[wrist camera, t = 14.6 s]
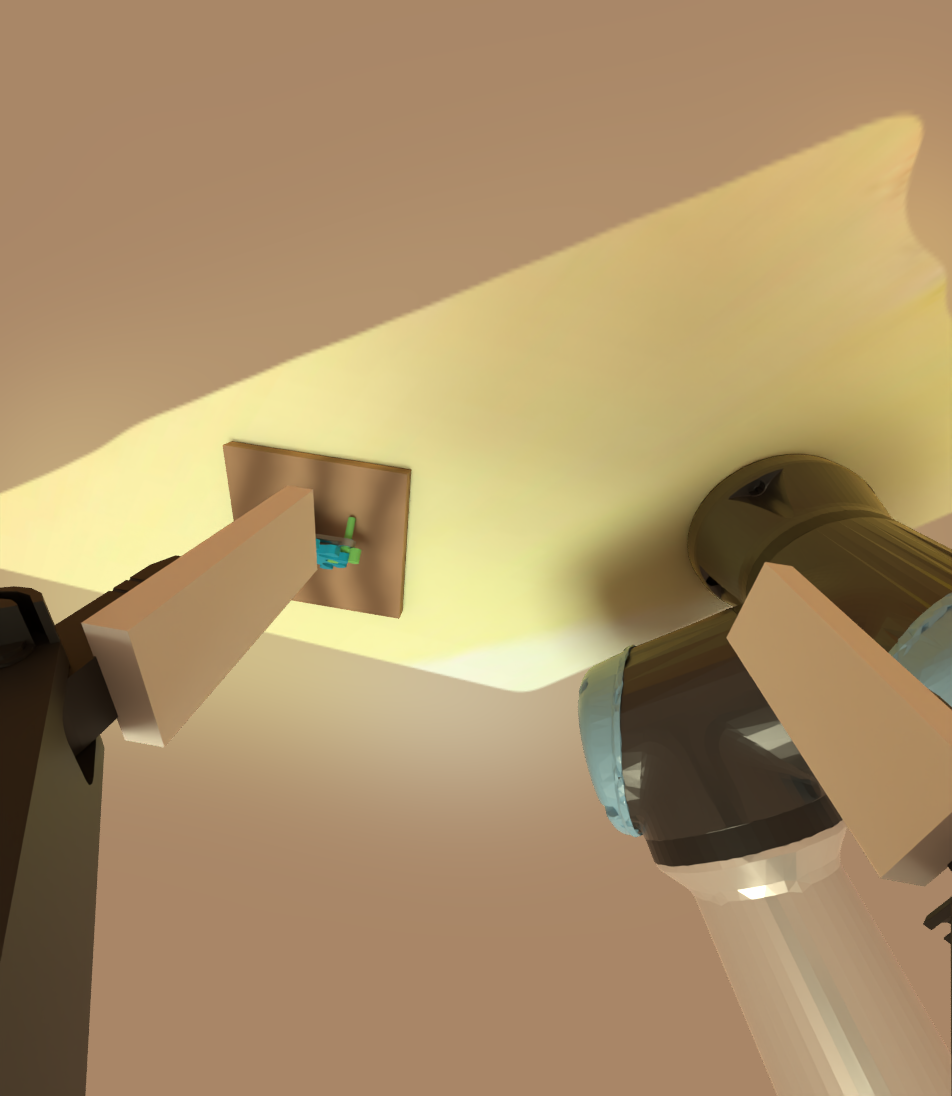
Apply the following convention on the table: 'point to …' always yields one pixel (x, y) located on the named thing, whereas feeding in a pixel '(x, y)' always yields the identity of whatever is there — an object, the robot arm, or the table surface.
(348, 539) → the gear
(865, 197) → the table surface
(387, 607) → the mount plate
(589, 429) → the table surface
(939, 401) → the table surface
